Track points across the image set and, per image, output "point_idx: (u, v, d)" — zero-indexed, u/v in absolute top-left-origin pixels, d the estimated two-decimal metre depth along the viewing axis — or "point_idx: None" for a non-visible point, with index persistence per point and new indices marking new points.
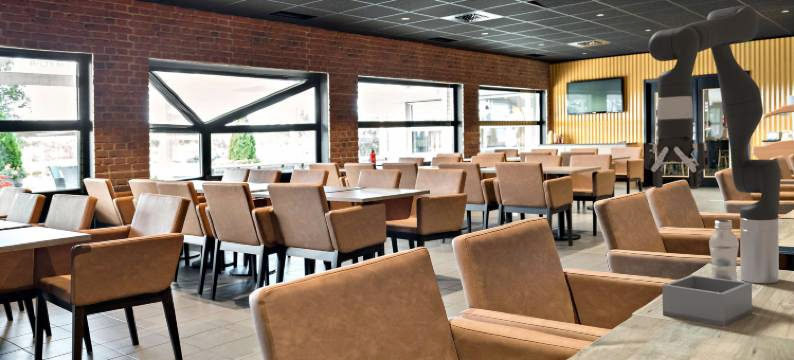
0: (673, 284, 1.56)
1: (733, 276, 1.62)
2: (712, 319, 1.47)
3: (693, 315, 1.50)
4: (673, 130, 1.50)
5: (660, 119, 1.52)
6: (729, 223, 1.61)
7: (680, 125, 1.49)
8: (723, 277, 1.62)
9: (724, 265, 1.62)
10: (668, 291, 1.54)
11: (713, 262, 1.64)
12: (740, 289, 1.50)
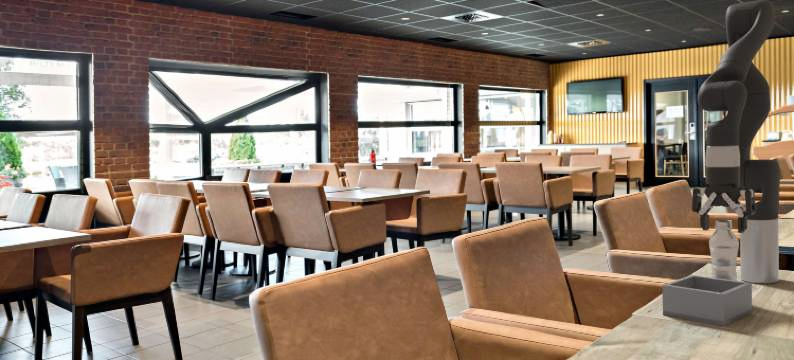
0: (673, 284, 1.56)
1: (733, 276, 1.62)
2: (712, 319, 1.47)
3: (693, 315, 1.50)
4: (721, 178, 1.59)
5: (709, 166, 1.62)
6: (729, 223, 1.61)
7: (728, 173, 1.59)
8: (723, 277, 1.62)
9: (724, 265, 1.62)
10: (668, 291, 1.54)
11: (713, 262, 1.64)
12: (740, 289, 1.50)
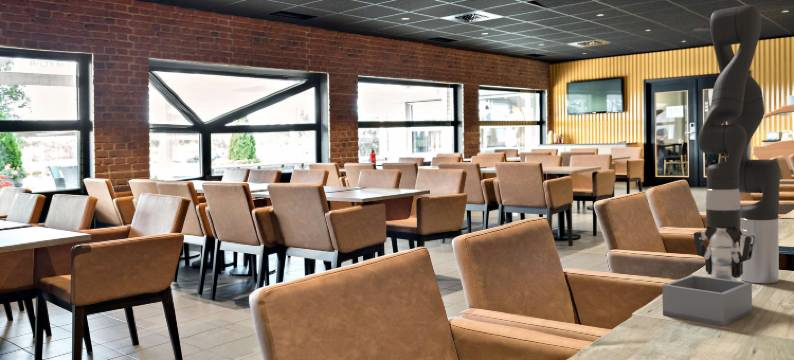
0: (673, 284, 1.56)
1: (733, 276, 1.62)
2: (712, 319, 1.47)
3: (693, 315, 1.50)
4: (722, 221, 1.60)
5: (709, 209, 1.62)
6: None
7: (729, 216, 1.59)
8: (722, 276, 1.62)
9: (724, 265, 1.62)
10: (668, 291, 1.54)
11: (713, 262, 1.64)
12: (740, 289, 1.50)
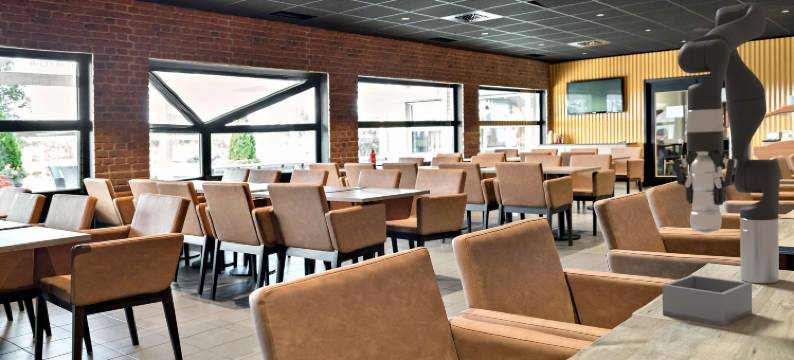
0: (673, 284, 1.56)
1: (715, 203, 1.51)
2: (712, 319, 1.47)
3: (693, 315, 1.50)
4: (703, 143, 1.49)
5: (690, 132, 1.51)
6: None
7: (710, 138, 1.48)
8: (704, 204, 1.51)
9: (705, 192, 1.50)
10: (668, 291, 1.54)
11: (694, 189, 1.52)
12: (740, 289, 1.50)
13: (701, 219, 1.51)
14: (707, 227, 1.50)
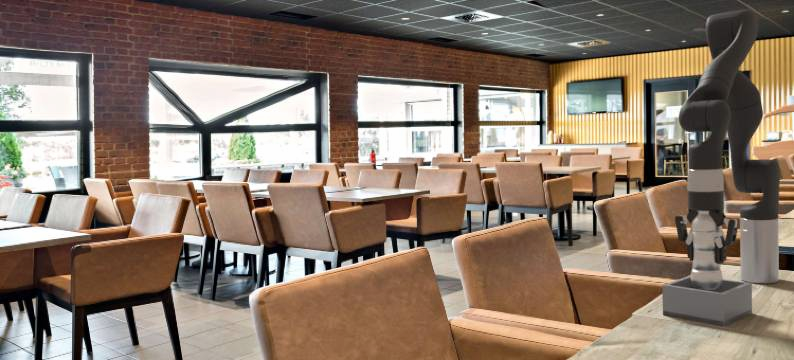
0: (673, 284, 1.56)
1: (716, 262, 1.51)
2: (712, 319, 1.47)
3: (693, 315, 1.50)
4: (704, 203, 1.50)
5: (691, 191, 1.52)
6: None
7: (711, 198, 1.49)
8: (705, 263, 1.52)
9: (706, 250, 1.51)
10: (668, 291, 1.54)
11: (695, 247, 1.53)
12: (740, 289, 1.50)
13: (702, 278, 1.52)
14: (707, 285, 1.51)
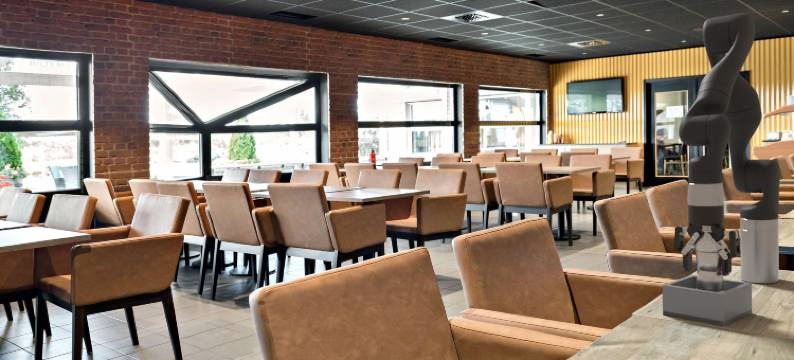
0: (673, 284, 1.56)
1: (720, 282, 1.52)
2: (712, 319, 1.47)
3: (693, 315, 1.50)
4: (704, 218, 1.50)
5: (691, 205, 1.52)
6: None
7: (711, 212, 1.49)
8: (709, 283, 1.52)
9: (710, 271, 1.51)
10: (668, 291, 1.54)
11: (699, 267, 1.53)
12: (740, 289, 1.50)
13: None
14: None
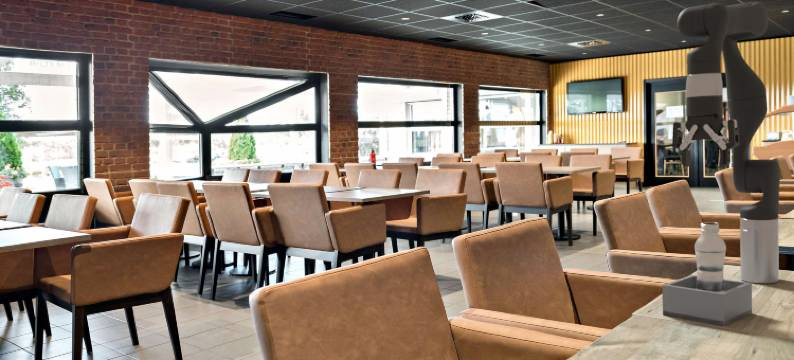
0: (673, 284, 1.56)
1: (720, 282, 1.52)
2: (712, 319, 1.47)
3: (693, 315, 1.50)
4: (703, 108, 1.48)
5: (689, 96, 1.50)
6: (716, 226, 1.51)
7: (710, 102, 1.48)
8: (709, 283, 1.52)
9: (710, 271, 1.51)
10: (668, 291, 1.54)
11: (699, 267, 1.53)
12: (740, 289, 1.50)
13: None
14: None
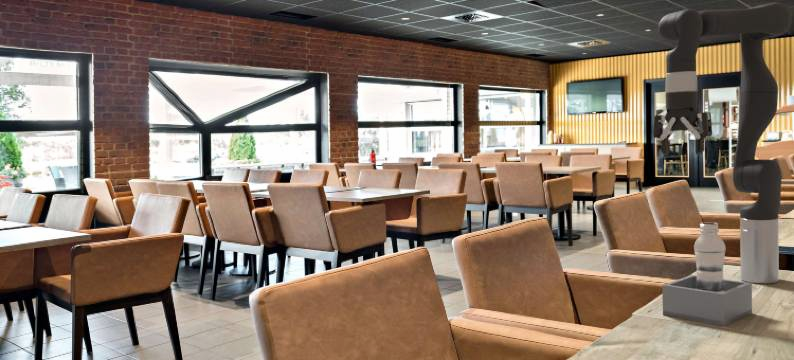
0: (673, 284, 1.56)
1: (720, 282, 1.52)
2: (712, 319, 1.47)
3: (693, 315, 1.50)
4: (680, 102, 1.68)
5: (668, 92, 1.70)
6: (715, 226, 1.51)
7: (686, 97, 1.67)
8: (708, 283, 1.52)
9: (710, 271, 1.51)
10: (668, 291, 1.54)
11: (698, 268, 1.53)
12: (740, 289, 1.50)
13: None
14: None
